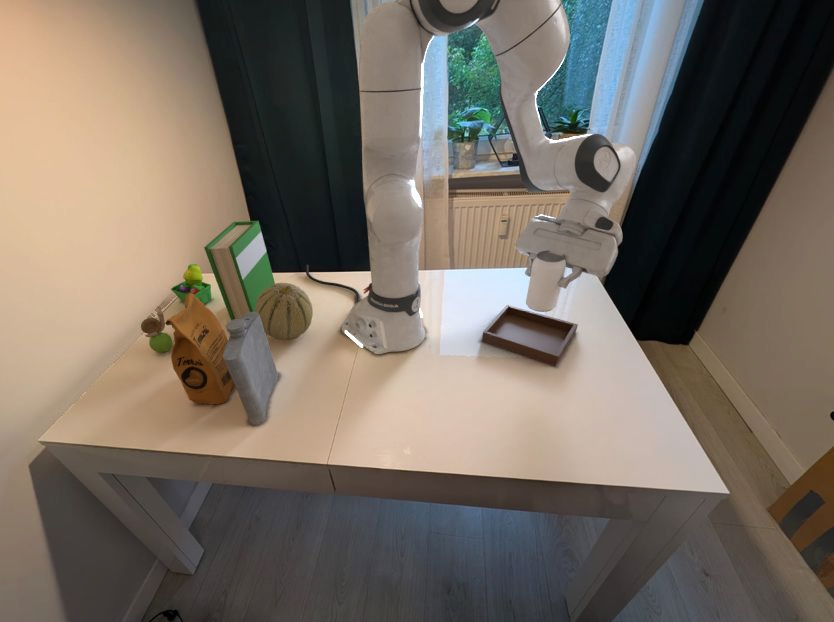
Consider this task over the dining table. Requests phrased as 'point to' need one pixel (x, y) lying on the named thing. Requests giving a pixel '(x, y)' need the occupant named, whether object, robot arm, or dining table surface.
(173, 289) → the fruit basket
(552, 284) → the can
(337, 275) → the dining table surface
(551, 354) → the tray
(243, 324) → the hip flask
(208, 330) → the coffee package
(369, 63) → the robot arm
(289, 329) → the cantaloupe
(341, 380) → the dining table surface
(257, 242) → the hardback book
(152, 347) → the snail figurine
